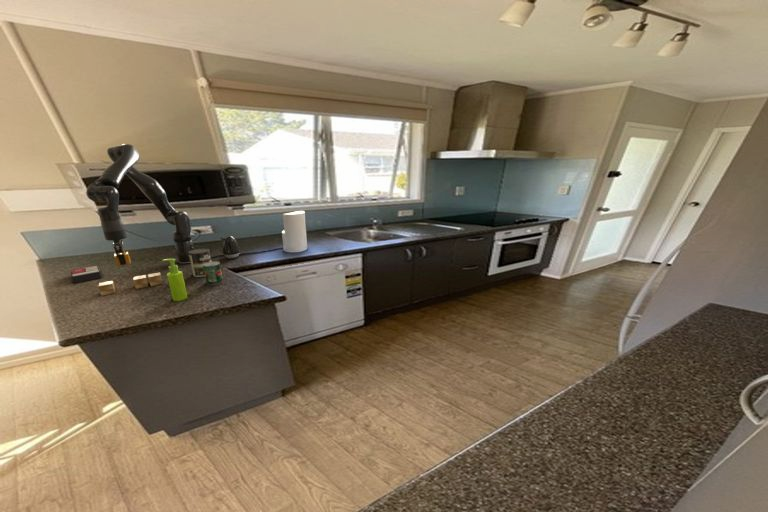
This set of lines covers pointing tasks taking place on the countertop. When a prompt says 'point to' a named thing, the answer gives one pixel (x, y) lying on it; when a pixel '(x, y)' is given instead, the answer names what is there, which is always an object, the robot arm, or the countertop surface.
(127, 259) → the mustard block
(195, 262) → the coffee can
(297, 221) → the cylinder
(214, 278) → the canned tomato
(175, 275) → the soap dispenser
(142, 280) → the maple block middle
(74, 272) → the red and grey box
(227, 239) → the dark ribbed dome
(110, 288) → the maple block
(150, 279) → the maple block
